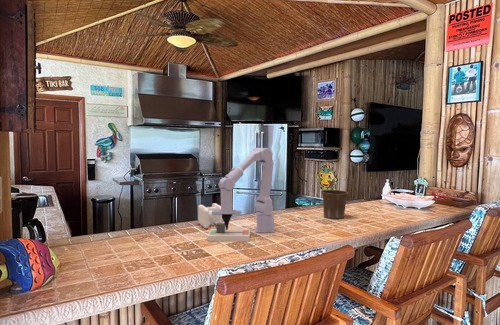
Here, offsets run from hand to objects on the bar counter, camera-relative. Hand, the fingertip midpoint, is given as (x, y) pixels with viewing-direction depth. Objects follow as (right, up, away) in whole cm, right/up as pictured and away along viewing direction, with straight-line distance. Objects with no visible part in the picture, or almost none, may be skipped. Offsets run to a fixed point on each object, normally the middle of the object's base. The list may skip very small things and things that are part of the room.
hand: (226, 229), depth 156 cm
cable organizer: (-11, -3, +23) cm, 25 cm away
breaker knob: (-3, -1, 0) cm, 3 cm away
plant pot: (+64, -1, +42) cm, 77 cm away
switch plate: (+1, -4, 0) cm, 4 cm away
